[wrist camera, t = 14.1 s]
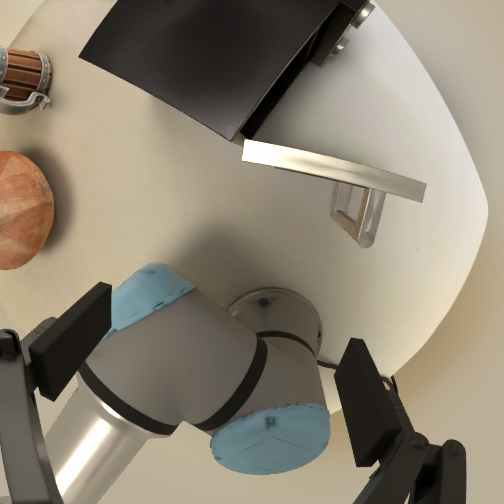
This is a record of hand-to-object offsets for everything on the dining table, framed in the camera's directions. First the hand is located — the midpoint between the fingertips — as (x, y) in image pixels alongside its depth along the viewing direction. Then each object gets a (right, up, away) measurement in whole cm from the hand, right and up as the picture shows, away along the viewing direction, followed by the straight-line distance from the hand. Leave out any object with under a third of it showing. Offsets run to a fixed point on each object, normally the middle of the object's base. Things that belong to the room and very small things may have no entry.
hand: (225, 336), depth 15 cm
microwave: (+1, +29, +19) cm, 35 cm away
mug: (-34, +31, +20) cm, 50 cm away
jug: (-36, +13, +26) cm, 46 cm away
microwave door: (+8, +13, +23) cm, 28 cm away
